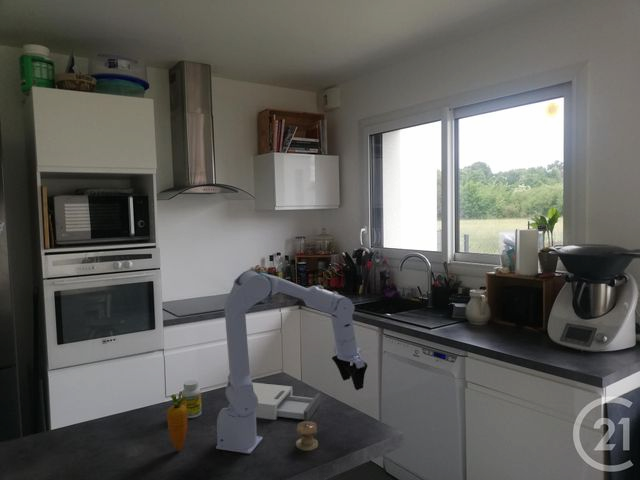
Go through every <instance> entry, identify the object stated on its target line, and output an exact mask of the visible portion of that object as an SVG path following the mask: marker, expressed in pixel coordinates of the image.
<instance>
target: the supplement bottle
mask: <svg viewBox="0 0 640 480" xmlns="http://www.w3.org/2000/svg"><path fill="white" fill-rule="evenodd" d="M198 386H199V381H197V380H195V379H193V380H191V379H190V380H186V381H184V382H183V388H184V389H183V390H182V395H181V398H182V397H184V396H186V397H187V398H185V399H184V400H183V401H182V403H181V405H184V406H185V407H186V408H187V411H188V419H193V418H197V417H199V416H201V415H202V412H203V411H202V394H201V393H202V392H201V389H200V387H198Z"/></svg>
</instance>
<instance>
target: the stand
mask: <svg viewBox="0 0 640 480" xmlns="http://www.w3.org/2000/svg"><path fill="white" fill-rule="evenodd" d="M295 446H296V448H297V449H298V450H299V451H303V452H309V451H315V450H316V449H318V447H319V441H318V440H317V439H316V438H314V435H313V436H309V437H304V436H300V438H299V439H297V440H296V441H295Z"/></svg>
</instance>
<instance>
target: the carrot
mask: <svg viewBox="0 0 640 480" xmlns="http://www.w3.org/2000/svg"><path fill="white" fill-rule="evenodd" d="M182 391H183V390H182ZM182 391H181V390H180V391H179V393H178V396H177V395H176V394H175V393H173V394H172V395H170V398H171V399H172V404H173V405H171V406H170V407H169V408H168V409H167V411H166V418H167V427H168V428H167V429H168V433H169V436H170V437H169V438H170V440H171V442H172V444H173V446H174V448H175V450H176V451H178V452H180V451H181V450H182V448H183V447H184V443H185V441H186V438H187V432H188V426H189V425H188V422H189V421H188V419H189V418H188V411H187V408H186V407H185V406H184V405H182V401H183V400H184V399H185V398H187V397H186V396H184V397H182Z"/></svg>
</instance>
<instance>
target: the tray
mask: <svg viewBox="0 0 640 480" xmlns="http://www.w3.org/2000/svg"><path fill="white" fill-rule="evenodd" d="M321 402H322V396H321V393H320V392H317V393H316V395H315V396H314V397H307V396H306V397H305V396H296V395H292V396H289V395H287V396H286V397H285V398H284V399H283V400H282V401H281V402H280V403H279V404H278V406H277V417H281V418H282V417H283V418H288V419H289V418H290V419H297V420H303V421H310V419H311V418H312V416H313V415H314V413H315V411H316V410H318V408H319V406H320V405H321Z"/></svg>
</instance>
